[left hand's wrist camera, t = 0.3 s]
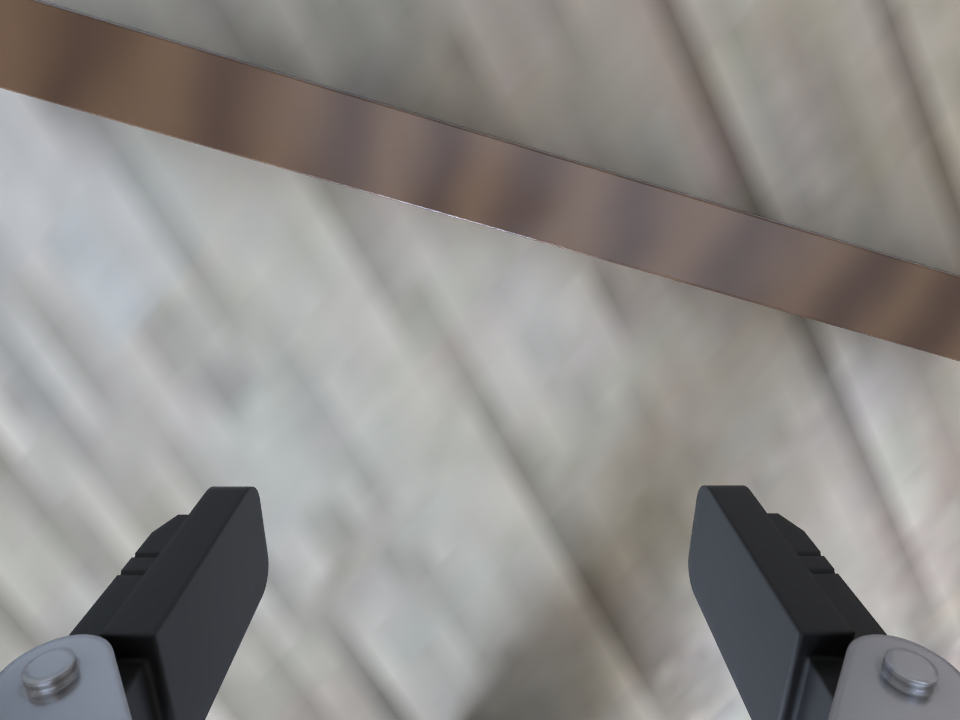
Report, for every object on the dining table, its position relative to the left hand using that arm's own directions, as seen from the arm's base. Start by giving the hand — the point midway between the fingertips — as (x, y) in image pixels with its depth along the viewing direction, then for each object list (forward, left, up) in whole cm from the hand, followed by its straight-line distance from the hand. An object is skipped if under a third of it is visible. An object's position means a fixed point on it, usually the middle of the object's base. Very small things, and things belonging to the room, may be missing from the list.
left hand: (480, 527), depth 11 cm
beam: (+4, -3, -29) cm, 29 cm away
